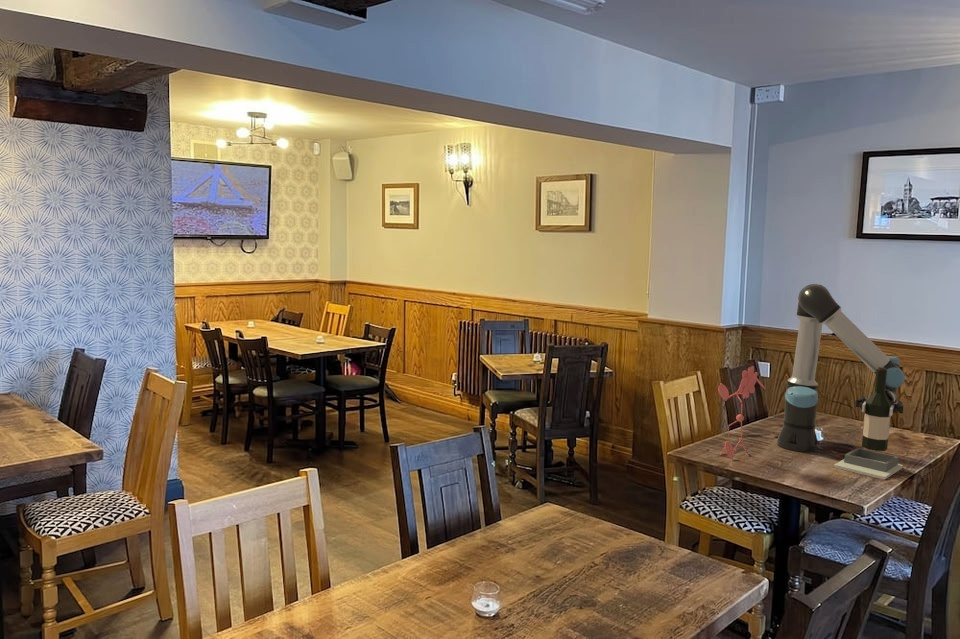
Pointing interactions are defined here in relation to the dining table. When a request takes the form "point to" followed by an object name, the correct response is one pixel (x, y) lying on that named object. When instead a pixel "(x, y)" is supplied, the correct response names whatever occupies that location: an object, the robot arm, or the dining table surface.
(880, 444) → the wine bottle
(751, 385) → the pink wire flower sculpture
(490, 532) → the dining table surface
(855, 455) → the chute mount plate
